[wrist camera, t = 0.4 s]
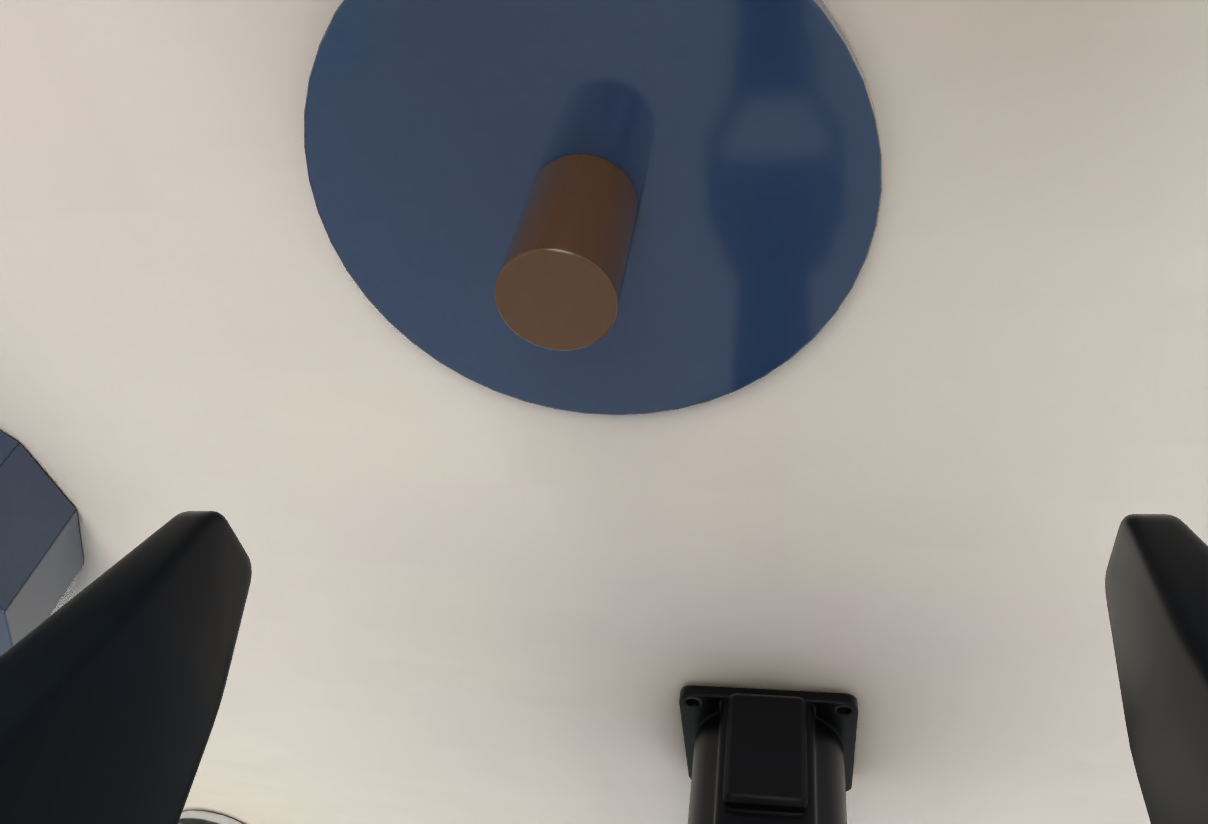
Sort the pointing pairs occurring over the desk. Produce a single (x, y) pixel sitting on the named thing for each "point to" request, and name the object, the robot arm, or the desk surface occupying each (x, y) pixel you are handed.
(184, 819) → the supplement bottle
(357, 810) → the desk surface
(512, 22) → the lid
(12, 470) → the saucepan
